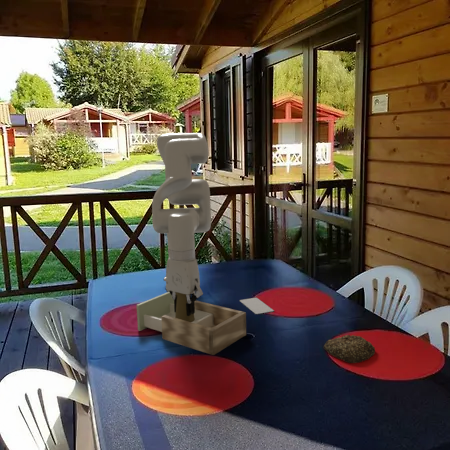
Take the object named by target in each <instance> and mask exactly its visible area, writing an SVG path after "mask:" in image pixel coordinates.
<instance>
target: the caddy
mask: <svg viewBox="0 0 450 450" xmlns="http://www.w3.org/2000/svg"><path fill="white" fill-rule="evenodd" d="M195 309H196V310H200V311H204V312H207V313H211V314H213V316H214V326H212V327H206V326H202V325H199V324H195V323H192V322H188V321H184V320H181V319H177V318H174V317H170V316H167V315H164V316H161V319H162V332H161V334H162V335H161V337H162V339H163V340H165V341H166V342H167V341H168V342H171V343H174V344H177V345H179V346H180V345H181V346H183V347H186V348H189V349H193V350H196V351H199V352H202V353H206V354H208V355H212V356H215V355H217V354H218V353H220V352H221V351H223V350H224V349H226V348H228V347H230V346H231V345H232V344H234V343H235V342H237V341H239V340H240V339H242V338H244V337H246V336H247V312H245V311H242V310H237V309H232V308H229V307H225V306H220V305H218V304H217V305H216V304H211V303H209V302H204V301H200V300H196V301H195Z"/></svg>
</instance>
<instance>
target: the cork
mask: <svg viewBox="0 0 450 450" xmlns="http://www.w3.org/2000/svg"><path fill="white" fill-rule="evenodd" d="M175 293H176V295H177V303H176V314H175V318H177V319H181V320H184V321H188V322H193V321H194V320H195V318H194V314H191V315H190V316H187V311H186V303H188V302H187V297H186V294H181V293H178V292H175ZM190 296H191V295H190ZM191 297H192V296H191Z"/></svg>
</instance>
